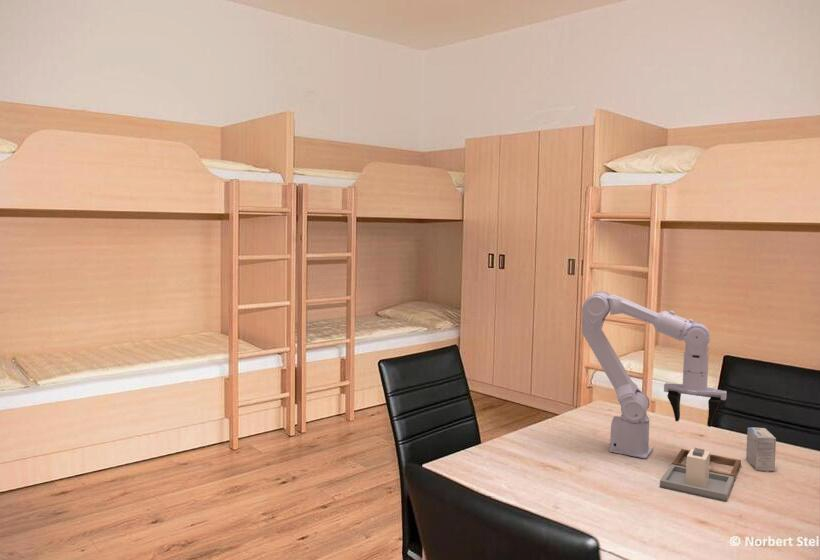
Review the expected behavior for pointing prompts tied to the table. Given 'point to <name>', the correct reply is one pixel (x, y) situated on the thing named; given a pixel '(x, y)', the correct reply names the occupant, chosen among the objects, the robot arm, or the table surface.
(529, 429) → the table surface
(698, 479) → the plug block
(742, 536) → the table surface
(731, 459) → the frame
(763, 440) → the medicine box
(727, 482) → the lower tray
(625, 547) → the table surface
